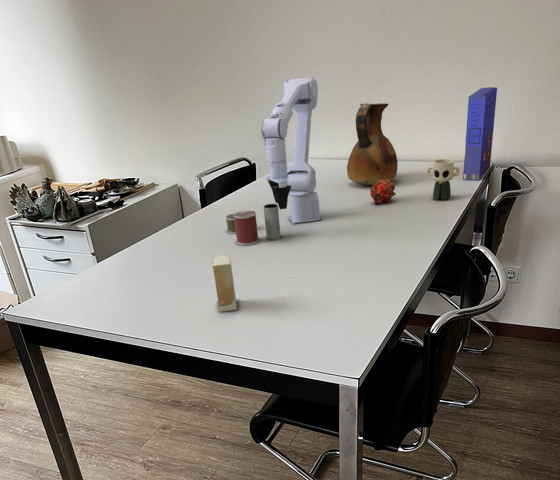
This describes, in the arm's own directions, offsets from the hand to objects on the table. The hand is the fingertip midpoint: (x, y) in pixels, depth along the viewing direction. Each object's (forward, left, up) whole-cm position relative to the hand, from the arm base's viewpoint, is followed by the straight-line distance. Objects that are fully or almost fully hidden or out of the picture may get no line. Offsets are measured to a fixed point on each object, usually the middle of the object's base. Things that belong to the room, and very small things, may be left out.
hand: (281, 205), depth 186 cm
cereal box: (-87, -43, -10) cm, 97 cm away
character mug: (-60, -16, -10) cm, 63 cm away
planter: (+3, 0, -10) cm, 11 cm away
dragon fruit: (-40, -22, -10) cm, 47 cm away
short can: (+14, -13, -10) cm, 21 cm away
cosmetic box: (+23, +48, -10) cm, 54 cm away
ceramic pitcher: (-45, -50, -10) cm, 68 cm away
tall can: (+12, 0, -10) cm, 15 cm away
